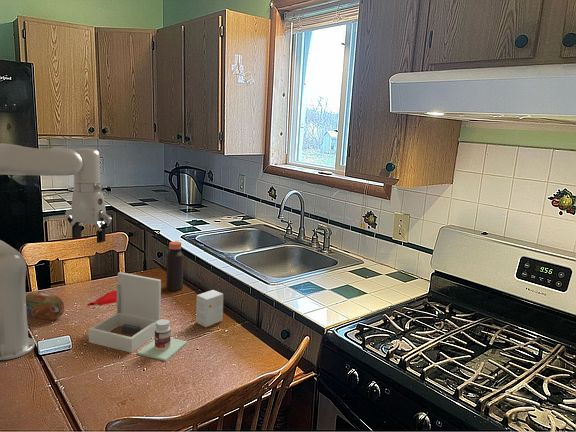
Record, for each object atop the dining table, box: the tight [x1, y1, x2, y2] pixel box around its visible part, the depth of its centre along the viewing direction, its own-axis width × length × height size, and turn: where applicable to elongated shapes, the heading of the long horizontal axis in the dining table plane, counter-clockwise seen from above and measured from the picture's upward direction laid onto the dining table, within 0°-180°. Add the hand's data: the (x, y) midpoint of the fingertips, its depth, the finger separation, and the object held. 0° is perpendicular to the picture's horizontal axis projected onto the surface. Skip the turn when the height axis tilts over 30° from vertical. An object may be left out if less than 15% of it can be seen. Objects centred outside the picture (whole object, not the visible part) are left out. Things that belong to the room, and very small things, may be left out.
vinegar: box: [165, 241, 184, 292], centre depth 184 cm, size 7×7×20 cm
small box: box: [195, 289, 224, 328], centre depth 157 cm, size 8×6×10 cm
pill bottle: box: [154, 318, 172, 350], centre depth 136 cm, size 5×5×8 cm
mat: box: [137, 337, 188, 362], centre depth 137 cm, size 12×10×1 cm
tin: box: [26, 292, 65, 321], centre depth 152 cm, size 15×3×8 cm, turn 76°
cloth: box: [86, 289, 117, 307], centre depth 175 cm, size 26×14×2 cm, turn 127°
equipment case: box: [88, 271, 162, 354], centre depth 141 cm, size 15×16×18 cm
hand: (88, 239), depth 143 cm, fingers open, 9 cm apart
